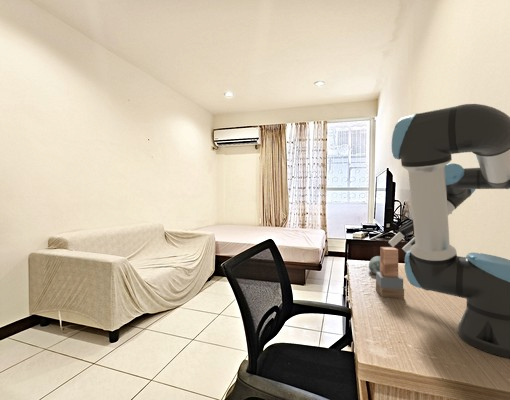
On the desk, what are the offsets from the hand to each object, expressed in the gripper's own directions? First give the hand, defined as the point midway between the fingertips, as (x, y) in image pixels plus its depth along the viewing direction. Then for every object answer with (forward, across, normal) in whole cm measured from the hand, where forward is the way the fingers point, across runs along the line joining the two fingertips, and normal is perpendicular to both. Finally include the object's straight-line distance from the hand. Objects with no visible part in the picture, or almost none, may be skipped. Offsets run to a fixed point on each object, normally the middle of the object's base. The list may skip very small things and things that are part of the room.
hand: (397, 247), depth 105 cm
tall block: (+10, -1, -6) cm, 12 cm away
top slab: (+13, -1, -8) cm, 16 cm away
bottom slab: (+16, -1, -11) cm, 19 cm away
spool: (+12, +29, -15) cm, 34 cm away
